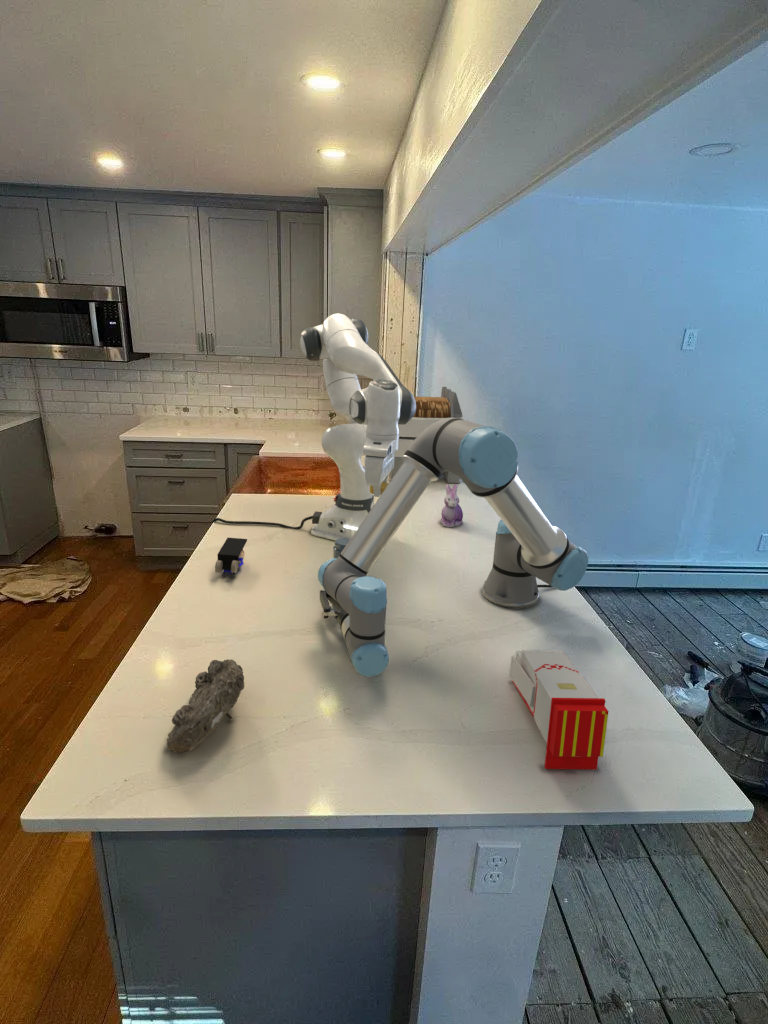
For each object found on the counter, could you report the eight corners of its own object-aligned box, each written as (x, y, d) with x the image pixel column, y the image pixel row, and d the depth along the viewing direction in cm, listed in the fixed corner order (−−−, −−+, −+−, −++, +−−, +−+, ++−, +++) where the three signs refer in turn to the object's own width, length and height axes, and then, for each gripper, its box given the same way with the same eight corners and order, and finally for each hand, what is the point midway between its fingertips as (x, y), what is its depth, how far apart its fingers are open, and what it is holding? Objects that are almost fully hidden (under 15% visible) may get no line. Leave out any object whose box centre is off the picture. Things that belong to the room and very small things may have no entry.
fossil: (192, 660, 117) (244, 628, 112) (224, 691, 120) (276, 661, 115) (142, 746, 98) (202, 712, 93) (182, 779, 101) (242, 748, 96)
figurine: (448, 529, 205) (451, 490, 200) (433, 520, 214) (436, 482, 209) (469, 526, 210) (473, 487, 204) (454, 517, 218) (457, 479, 213)
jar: (330, 607, 149) (331, 538, 143) (349, 605, 151) (351, 536, 144) (334, 617, 145) (335, 546, 138) (354, 615, 146) (356, 544, 139)
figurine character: (238, 584, 162) (249, 557, 175) (236, 562, 158) (247, 536, 172) (215, 584, 161) (227, 556, 175) (212, 561, 158) (225, 535, 171)
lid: (387, 496, 152) (388, 489, 151) (366, 493, 153) (366, 486, 153) (393, 490, 157) (393, 483, 157) (373, 487, 159) (373, 480, 158)
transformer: (382, 463, 289) (386, 382, 275) (445, 464, 293) (451, 384, 279) (390, 482, 257) (394, 392, 243) (460, 483, 261) (468, 394, 247)
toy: (559, 632, 124) (618, 706, 95) (553, 688, 127) (609, 777, 97) (504, 631, 123) (546, 705, 94) (499, 687, 126) (539, 776, 97)
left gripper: (379, 434, 161) (377, 481, 165) (361, 450, 142) (359, 502, 147) (400, 436, 160) (398, 483, 164) (385, 452, 141) (383, 505, 145)
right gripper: (317, 643, 128) (304, 595, 149) (394, 635, 133) (372, 589, 154) (317, 614, 126) (304, 569, 147) (396, 607, 130) (373, 564, 151)
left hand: (380, 492), depth 155 cm, fingers closed on lid, 5 cm apart
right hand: (339, 579), depth 150 cm, fingers closed on jar, 5 cm apart
